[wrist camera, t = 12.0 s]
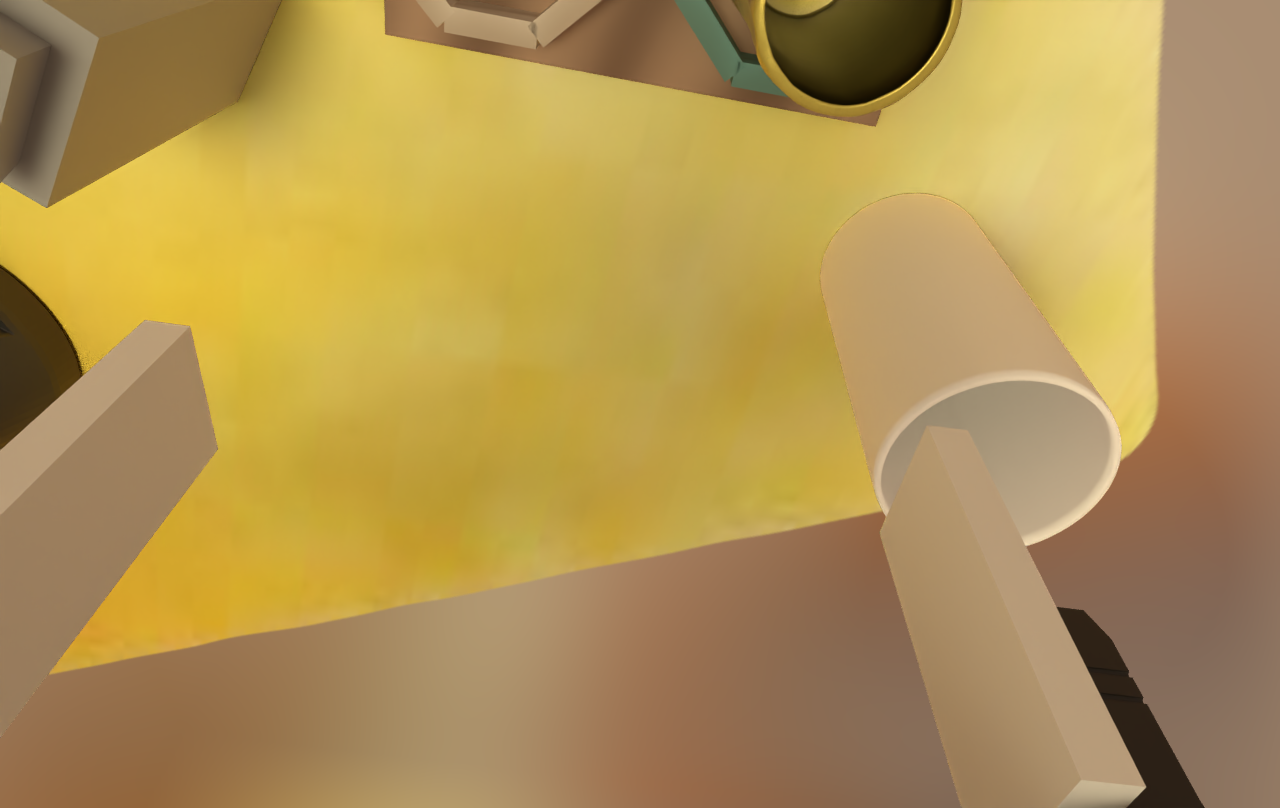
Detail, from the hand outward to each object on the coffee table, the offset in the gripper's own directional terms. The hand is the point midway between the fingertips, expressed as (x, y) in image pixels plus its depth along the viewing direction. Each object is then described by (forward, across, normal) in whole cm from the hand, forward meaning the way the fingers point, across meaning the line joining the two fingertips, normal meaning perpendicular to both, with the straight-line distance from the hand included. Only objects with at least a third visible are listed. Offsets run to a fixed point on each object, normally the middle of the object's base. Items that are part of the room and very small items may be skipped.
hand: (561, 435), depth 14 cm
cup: (+26, +15, -7) cm, 31 cm away
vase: (+25, +6, +6) cm, 27 cm away
